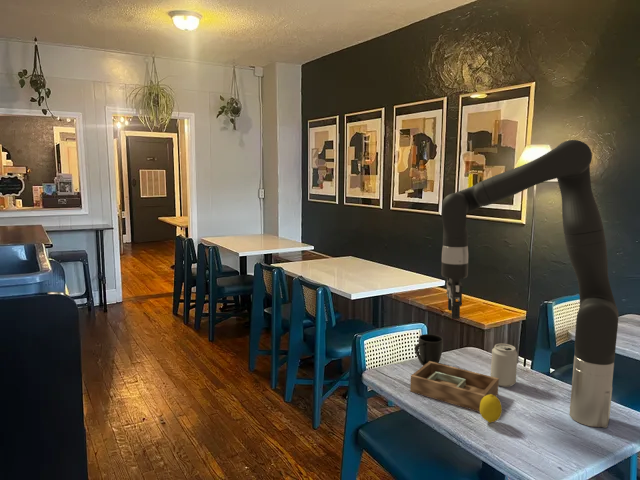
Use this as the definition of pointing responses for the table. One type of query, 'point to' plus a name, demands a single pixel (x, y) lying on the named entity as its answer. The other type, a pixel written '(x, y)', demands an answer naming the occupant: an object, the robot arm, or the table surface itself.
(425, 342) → the mug
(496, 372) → the can
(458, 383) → the caddy
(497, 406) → the lemon
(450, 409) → the table surface
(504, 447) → the table surface
